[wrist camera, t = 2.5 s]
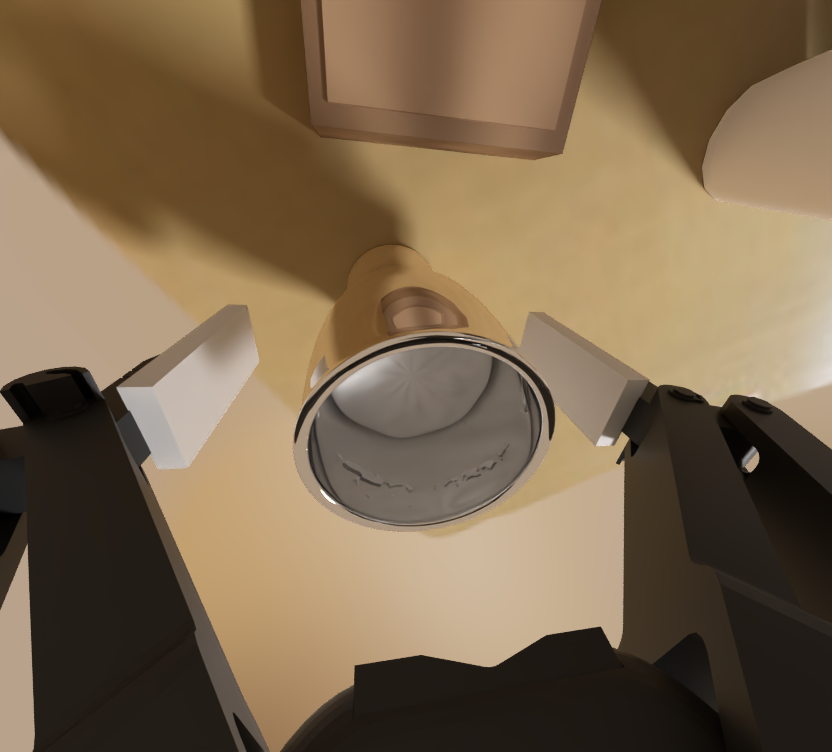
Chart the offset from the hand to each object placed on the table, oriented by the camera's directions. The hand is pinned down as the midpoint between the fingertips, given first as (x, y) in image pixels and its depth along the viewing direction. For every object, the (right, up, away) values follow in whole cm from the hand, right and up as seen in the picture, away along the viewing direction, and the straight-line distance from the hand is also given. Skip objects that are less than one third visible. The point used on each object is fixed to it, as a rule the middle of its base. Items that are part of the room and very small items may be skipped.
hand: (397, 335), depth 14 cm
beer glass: (-1, +4, +6) cm, 7 cm away
